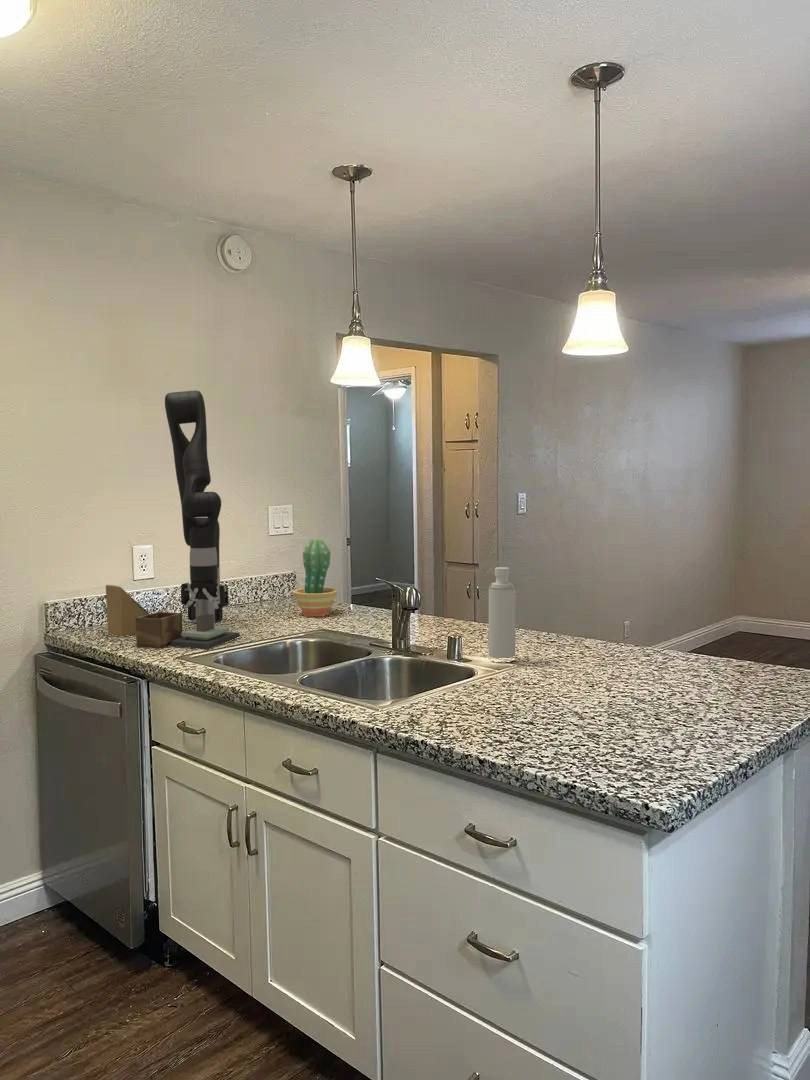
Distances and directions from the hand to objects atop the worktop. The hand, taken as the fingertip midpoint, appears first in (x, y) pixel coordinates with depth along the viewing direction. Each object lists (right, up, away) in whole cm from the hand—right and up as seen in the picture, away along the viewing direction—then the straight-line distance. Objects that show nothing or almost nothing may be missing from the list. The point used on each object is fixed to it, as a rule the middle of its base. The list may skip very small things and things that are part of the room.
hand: (205, 620), depth 230 cm
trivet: (0, -6, +1) cm, 6 cm away
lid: (0, -4, 0) cm, 4 cm away
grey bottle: (+81, -8, -24) cm, 84 cm away
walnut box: (-12, -6, -1) cm, 14 cm away
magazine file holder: (-24, -5, +17) cm, 30 cm away
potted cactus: (+26, -2, +43) cm, 50 cm away
